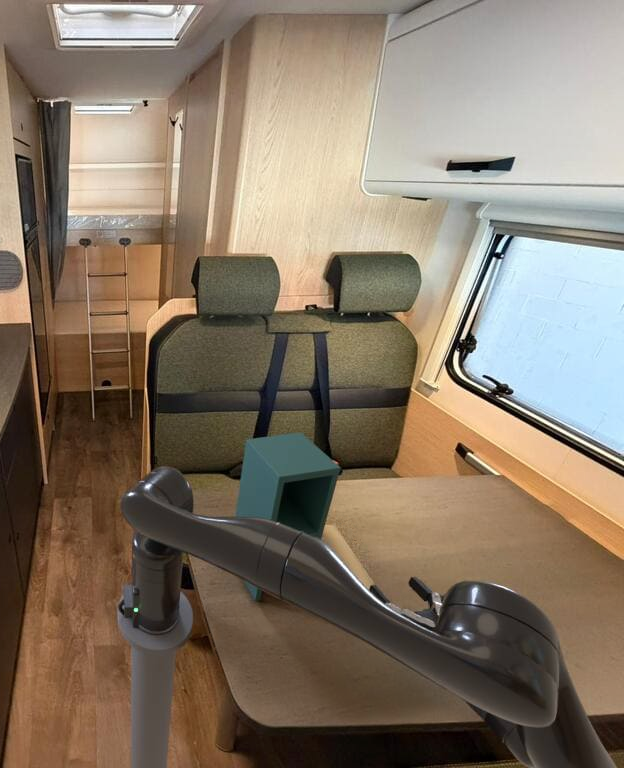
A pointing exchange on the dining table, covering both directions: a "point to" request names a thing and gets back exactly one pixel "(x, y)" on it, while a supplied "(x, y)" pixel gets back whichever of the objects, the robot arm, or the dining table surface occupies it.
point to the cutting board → (345, 553)
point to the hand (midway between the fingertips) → (391, 583)
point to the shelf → (286, 484)
